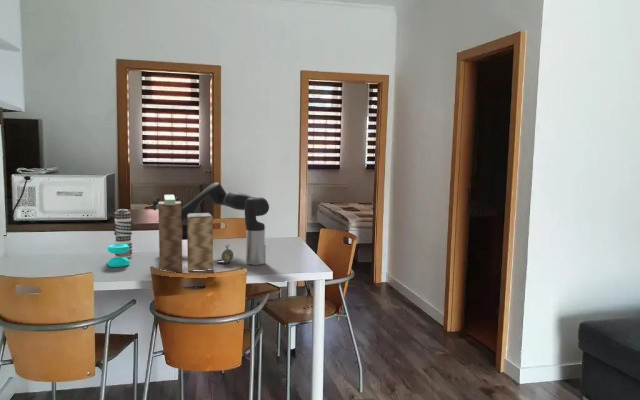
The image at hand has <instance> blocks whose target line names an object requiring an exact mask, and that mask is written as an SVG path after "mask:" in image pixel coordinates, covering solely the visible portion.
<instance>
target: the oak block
mask: <svg viewBox="0 0 640 400" xmlns="http://www.w3.org/2000/svg"><path fill="white" fill-rule="evenodd" d="M213 223H214V217H213V216H212V215H211V213H210V212H198V213H197V212H196V213H188V215H187V220H186V234H187V235H186V236H187V237H186V238H187V247H186V248H187V269H188V268H189V269H188V272H189V271H193V270H208V269H213V270H214V226H213V225H214V224H213Z"/></svg>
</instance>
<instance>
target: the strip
mask: <svg viewBox="0 0 640 400" xmlns="http://www.w3.org/2000/svg"><path fill="white" fill-rule="evenodd" d="M163 196H164V197H163V198H164V199H163V200H164V202H165V205H175V201H176V197H175V195H174V194H164V195H163Z"/></svg>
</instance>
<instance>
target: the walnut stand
mask: <svg viewBox="0 0 640 400" xmlns="http://www.w3.org/2000/svg"><path fill="white" fill-rule="evenodd" d="M181 201H182V200H179V201H176V200H175V205H165V201H162V202H159V203H158V205H159V209H158V242H159V243H158V250H159V251H158V252H159V254H158V255H159V270H160V269H161V270H166V271H177V272H176V273H180V271H182V272H183V231H182V230H183V229H182V224H183V223H182V219H181Z"/></svg>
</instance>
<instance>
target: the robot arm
mask: <svg viewBox="0 0 640 400" xmlns="http://www.w3.org/2000/svg"><path fill="white" fill-rule="evenodd" d="M207 197H208V198H209V200H210V201H211V202H212V203H213V204H214V205H219V206H225V207H229V208H230V209H234V210H238V211H244V223H245V228H246V229H245V234H246V235H245V236H246V237H245V238H246V239H245V242H246V243H245V247H246V249H245V255H246V257H245V258H246V259H245V262H246V263H247V265H249V264H252V265H251V266H259V265H260V264H261V265H266V262H267V260H266V258H267V257H266V256H267V253H266V249H267V247H266V244H265V242H266V241H265V239H266V238H265V237H266V236H265V235H266V234H265V233H266V226H265V223H263V222H260V221H258V220H257V217H261V216H265V215H266V214H267V213H268V212H269V210H270V204H269V201H268V200H267V199H266V198H264V197H261V196H260V197H258V196H257V197H256V196H252V195H249V194H246V193H243V192H241V191H237V190H232V191H230V192H228V193H226V191H225V189H224V187H223V186H222V184H220V183H219V182H217V181H216V182H213V183H211V184H209V185H208V186H207V187H205V188H204V189H203V190H202V191H200V193H198V194H197V195H196V196H195V197H194V198H193V199H192V200H191V201H189V202H188V203H187V204H185V205H184V204H183V200H180V198H179V197H175V201H181V219H182V224H183V223H184V222H185V221H187V215H188V213H197V211H198V209H199V207H200V204H202V202H203V201H204V199H206V198H207ZM159 202H163V201H162V200H160V197H157V198H156V201H155V200H153V201H152V208H153V210H154V211H156V210H159V205H158V203H159ZM183 205H184V206H183ZM246 263H245V264H246Z"/></svg>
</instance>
